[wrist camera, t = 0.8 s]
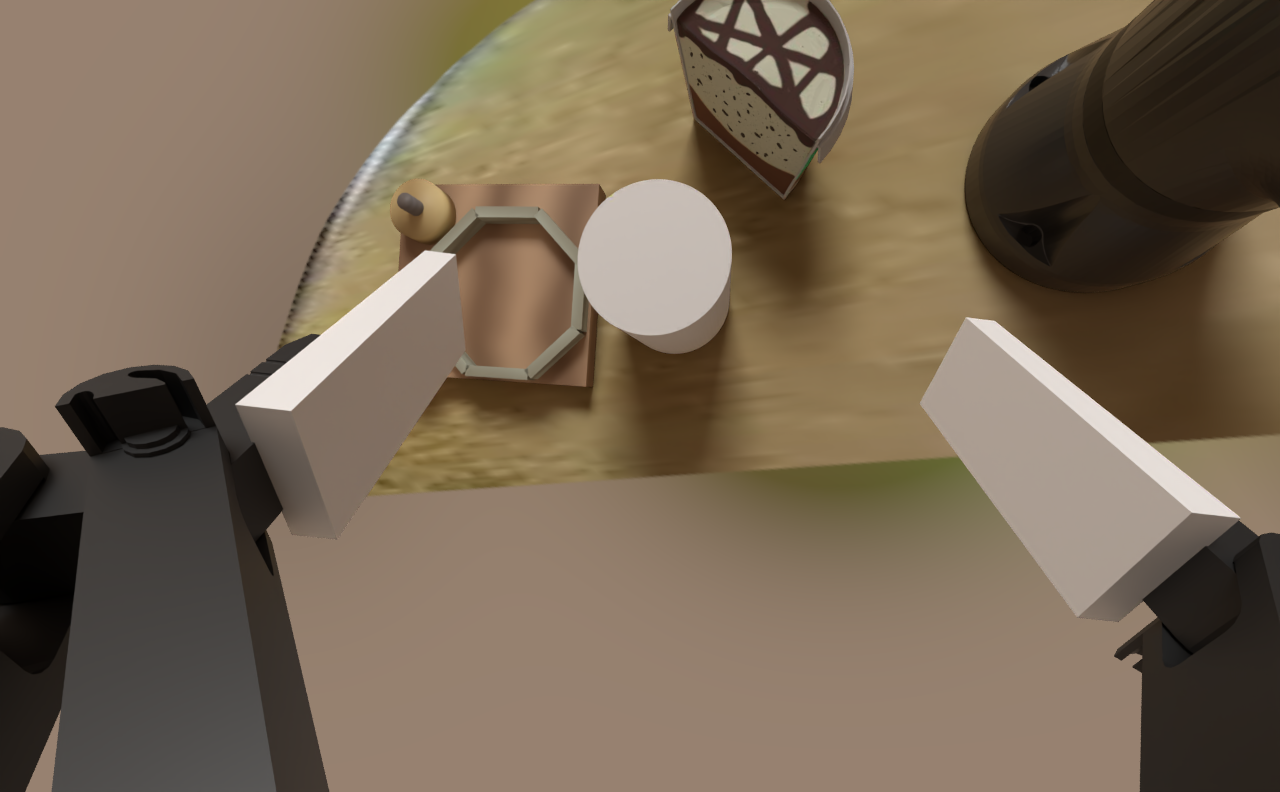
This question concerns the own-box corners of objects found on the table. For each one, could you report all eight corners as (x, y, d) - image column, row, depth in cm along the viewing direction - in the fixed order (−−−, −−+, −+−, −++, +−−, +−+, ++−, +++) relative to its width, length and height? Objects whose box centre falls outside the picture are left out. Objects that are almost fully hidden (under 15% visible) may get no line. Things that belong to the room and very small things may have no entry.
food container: (862, 148, 35) (915, 54, 25) (799, 213, 36) (827, 145, 26) (738, 41, 37) (742, -88, 27) (679, 106, 38) (663, 3, 28)
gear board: (605, 194, 38) (587, 164, 33) (593, 387, 39) (572, 385, 34) (419, 194, 41) (375, 166, 36) (408, 374, 41) (363, 371, 36)
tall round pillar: (736, 252, 37) (742, 184, 25) (721, 360, 37) (719, 344, 25) (630, 242, 38) (588, 174, 26) (616, 346, 38) (568, 325, 27)
